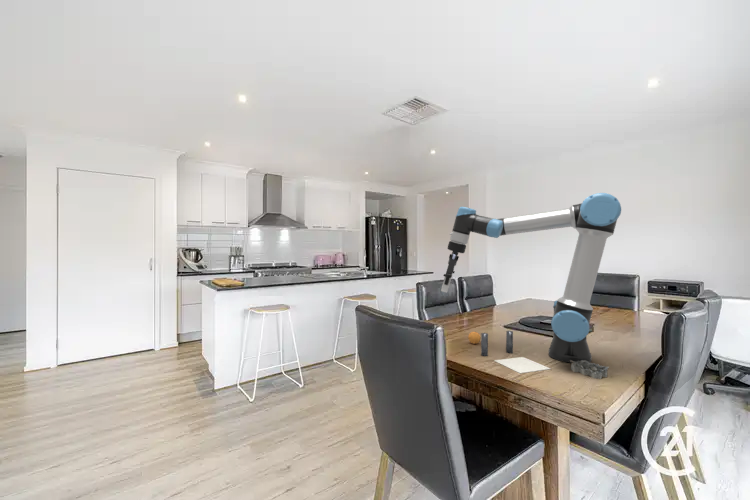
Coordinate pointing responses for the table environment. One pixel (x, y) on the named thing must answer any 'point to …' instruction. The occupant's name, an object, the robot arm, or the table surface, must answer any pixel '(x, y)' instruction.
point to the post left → (484, 344)
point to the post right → (509, 341)
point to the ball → (474, 337)
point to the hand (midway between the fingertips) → (445, 288)
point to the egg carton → (589, 369)
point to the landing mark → (522, 365)
